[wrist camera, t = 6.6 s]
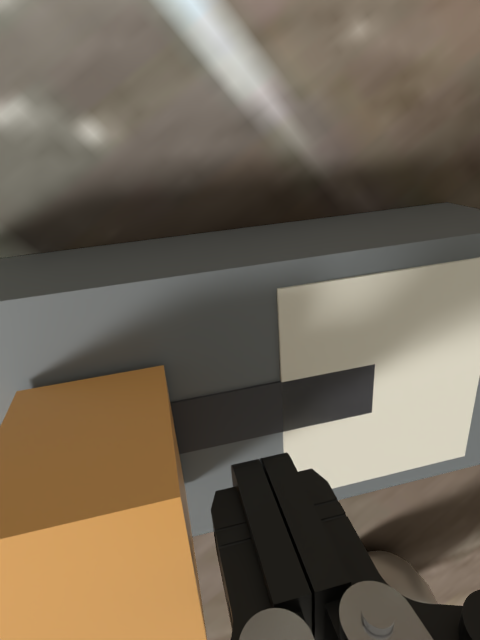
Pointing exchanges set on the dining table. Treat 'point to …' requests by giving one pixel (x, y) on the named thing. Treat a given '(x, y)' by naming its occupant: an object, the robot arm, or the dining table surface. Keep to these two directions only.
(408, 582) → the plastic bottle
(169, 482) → the lever
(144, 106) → the dining table surface
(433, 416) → the box
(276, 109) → the dining table surface
